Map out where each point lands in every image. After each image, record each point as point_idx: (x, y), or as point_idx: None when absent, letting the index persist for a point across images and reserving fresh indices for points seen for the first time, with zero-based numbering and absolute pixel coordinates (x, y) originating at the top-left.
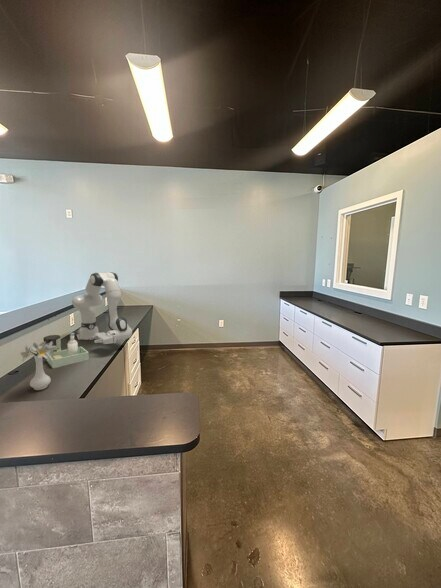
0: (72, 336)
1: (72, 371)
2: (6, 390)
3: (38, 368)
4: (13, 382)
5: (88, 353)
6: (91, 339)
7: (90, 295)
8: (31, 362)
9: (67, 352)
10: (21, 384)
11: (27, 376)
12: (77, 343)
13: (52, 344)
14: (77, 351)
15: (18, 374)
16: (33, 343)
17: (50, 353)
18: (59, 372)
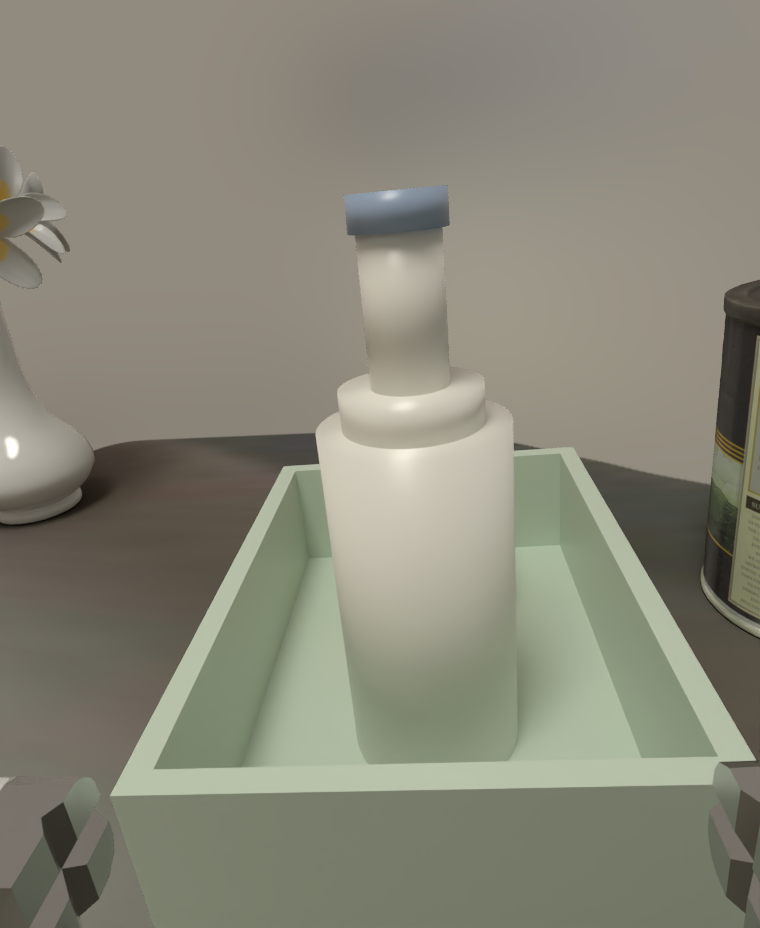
0: (359, 268)
1: (38, 659)
2: (204, 438)
3: None
4: (284, 447)
5: (121, 819)
6: (746, 906)
7: None
8: (639, 485)
9: (620, 620)
10: (210, 463)
11: None
12: (375, 493)
13: (722, 392)
14: (367, 648)
15: None
16: (7, 151)
17: (564, 467)
18: (159, 585)
